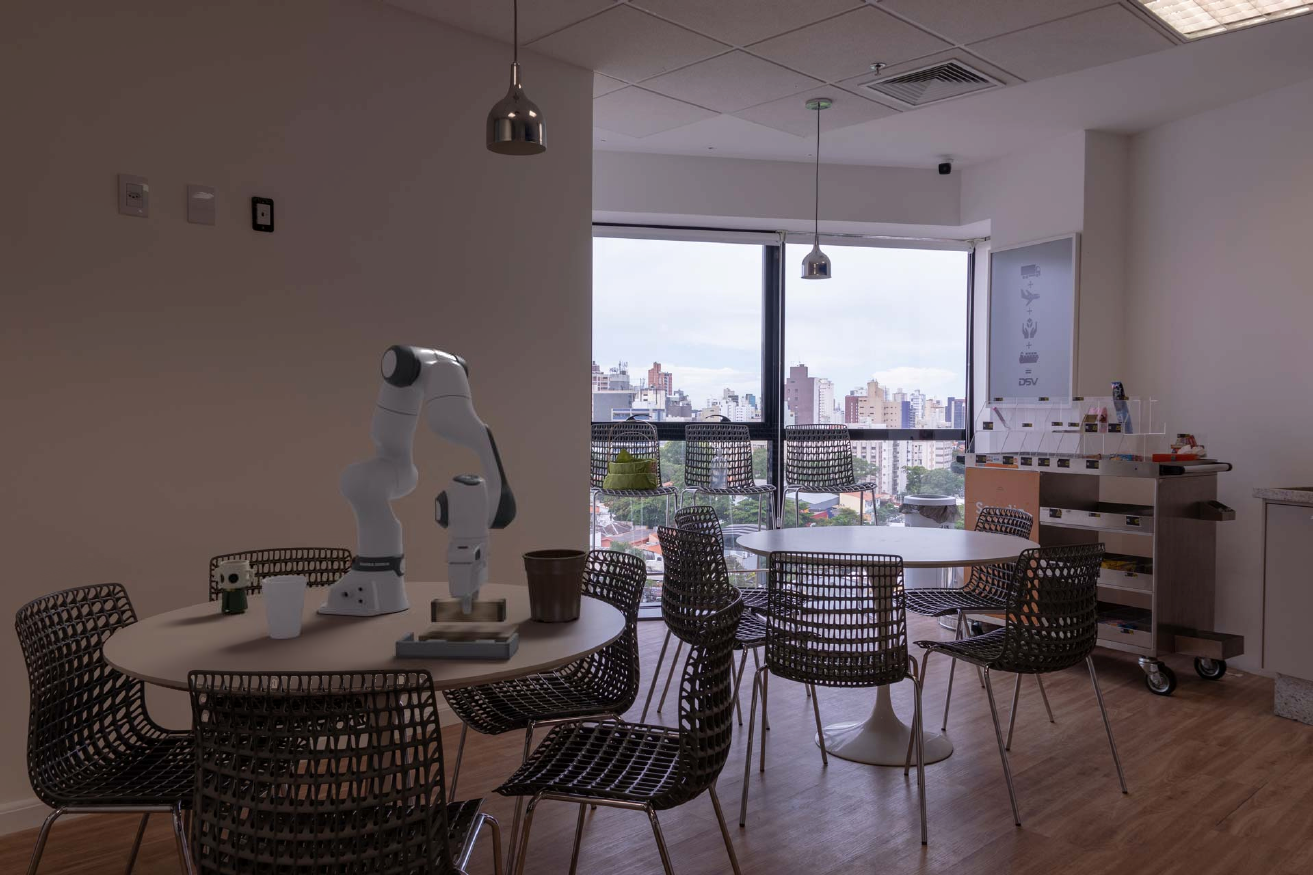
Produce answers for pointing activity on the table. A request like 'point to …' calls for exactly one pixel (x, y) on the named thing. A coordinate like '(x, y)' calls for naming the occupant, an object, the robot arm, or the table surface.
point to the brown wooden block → (480, 613)
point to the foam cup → (284, 605)
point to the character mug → (234, 584)
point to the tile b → (485, 641)
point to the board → (468, 633)
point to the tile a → (436, 640)
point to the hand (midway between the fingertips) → (470, 610)
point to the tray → (455, 649)
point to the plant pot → (555, 583)
